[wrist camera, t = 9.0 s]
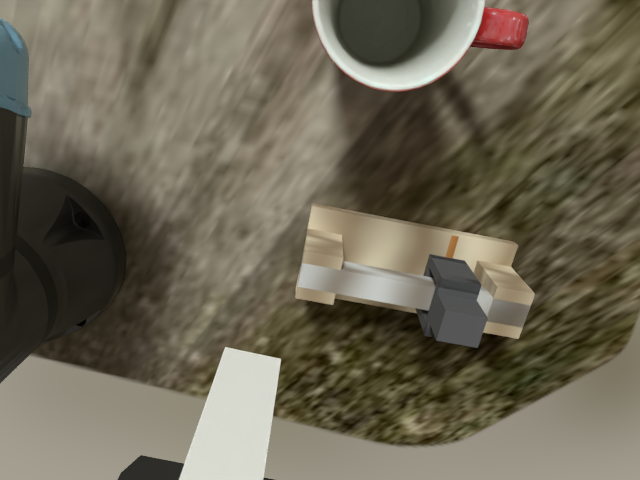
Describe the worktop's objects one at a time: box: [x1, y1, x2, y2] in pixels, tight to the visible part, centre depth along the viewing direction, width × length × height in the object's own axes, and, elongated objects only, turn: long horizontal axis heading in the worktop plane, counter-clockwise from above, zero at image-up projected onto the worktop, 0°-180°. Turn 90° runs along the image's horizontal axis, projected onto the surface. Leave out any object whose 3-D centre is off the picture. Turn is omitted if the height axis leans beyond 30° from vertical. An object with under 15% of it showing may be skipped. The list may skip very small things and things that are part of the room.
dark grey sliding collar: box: [415, 254, 488, 348], centre depth 39 cm, size 3×5×8 cm, turn 169°
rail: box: [295, 203, 535, 339], centre depth 42 cm, size 18×8×7 cm, turn 79°
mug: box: [312, 0, 529, 92], centre depth 32 cm, size 13×9×14 cm
